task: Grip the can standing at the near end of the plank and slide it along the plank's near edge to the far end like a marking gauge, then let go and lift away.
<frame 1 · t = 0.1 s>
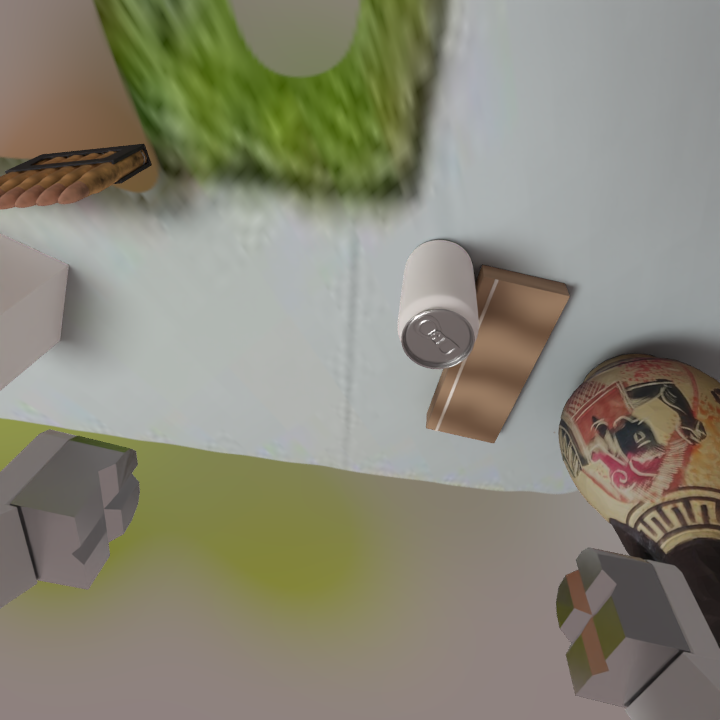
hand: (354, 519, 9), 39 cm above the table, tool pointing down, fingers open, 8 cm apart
can: (438, 268, 48), on the table
plank: (487, 356, 53), on the table
ceramic jug: (615, 387, 54), on the table
milk: (11, 280, 56), on the table
ammunition clip: (96, 159, 46), on the table
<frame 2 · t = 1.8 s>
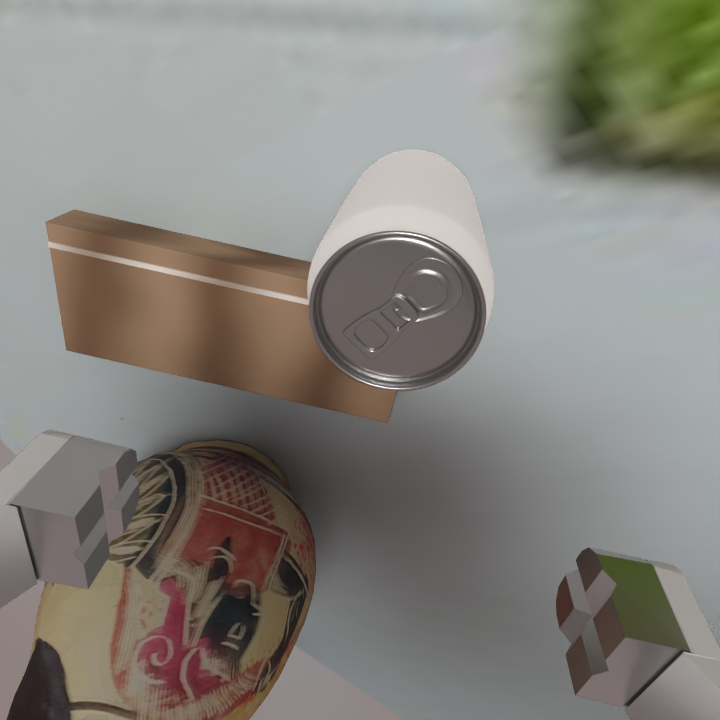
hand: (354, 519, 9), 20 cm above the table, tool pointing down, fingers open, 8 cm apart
can: (411, 213, 26), on the table
plank: (243, 310, 30), on the table
ceramic jug: (228, 473, 38), on the table
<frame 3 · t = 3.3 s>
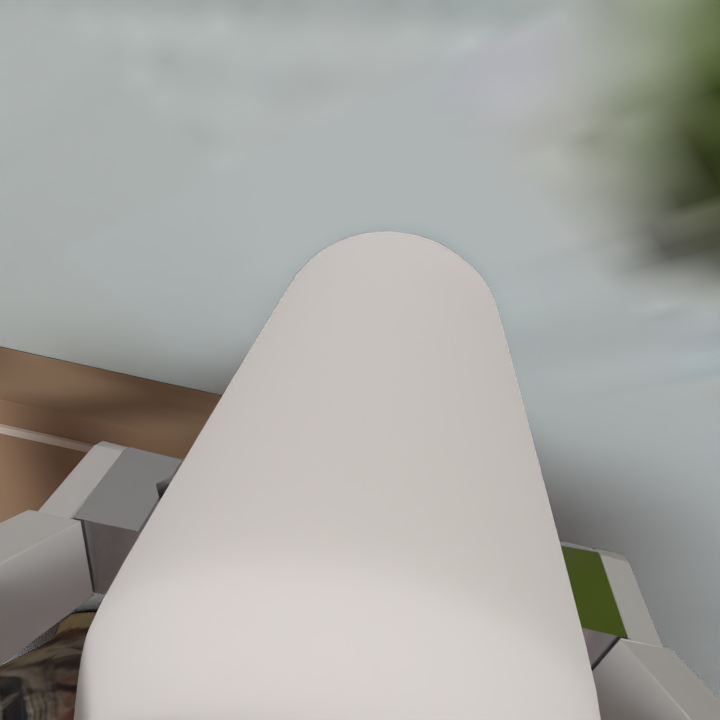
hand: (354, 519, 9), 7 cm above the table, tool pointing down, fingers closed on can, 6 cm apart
can: (388, 328, 15), on the table, touching gripper
plank: (130, 458, 19), on the table
ceramic jug: (141, 644, 27), on the table
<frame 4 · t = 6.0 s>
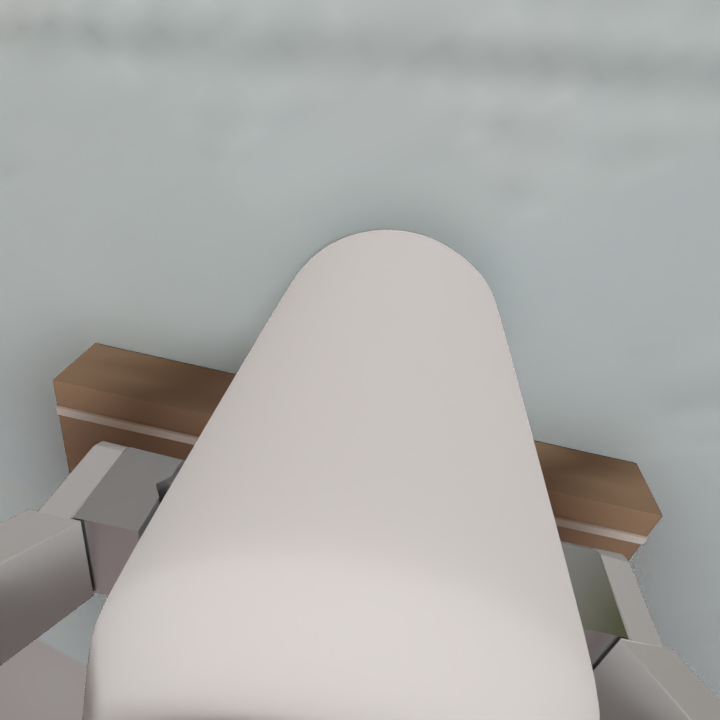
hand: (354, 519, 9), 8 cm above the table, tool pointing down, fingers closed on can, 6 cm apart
can: (389, 326, 15), point 1 cm above the table, touching gripper
plank: (346, 480, 20), on the table
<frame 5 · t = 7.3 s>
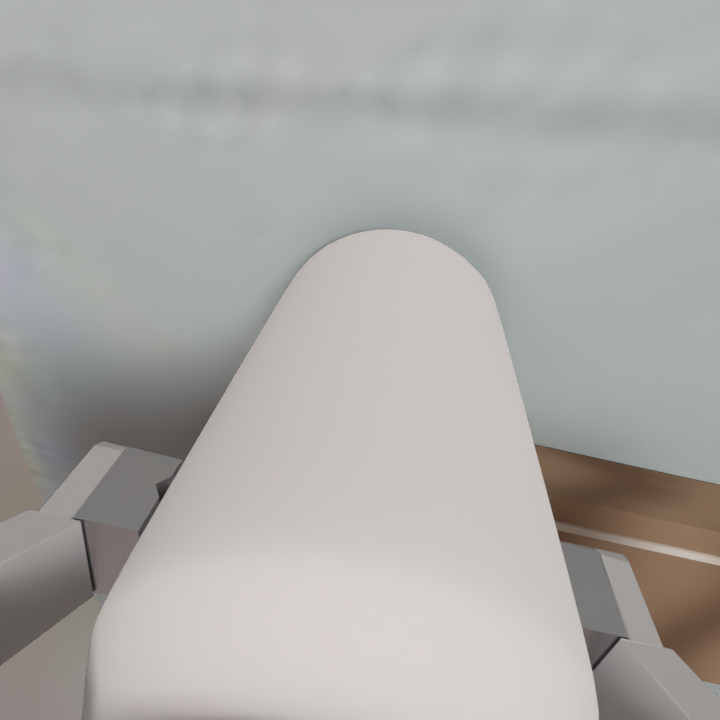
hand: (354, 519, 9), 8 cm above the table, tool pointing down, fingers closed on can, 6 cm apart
can: (388, 325, 15), point 1 cm above the table, touching gripper
plank: (535, 526, 20), on the table
when the fingers open (7 cm above the table, at t = 8.6 s): can stays where it is, on the table.
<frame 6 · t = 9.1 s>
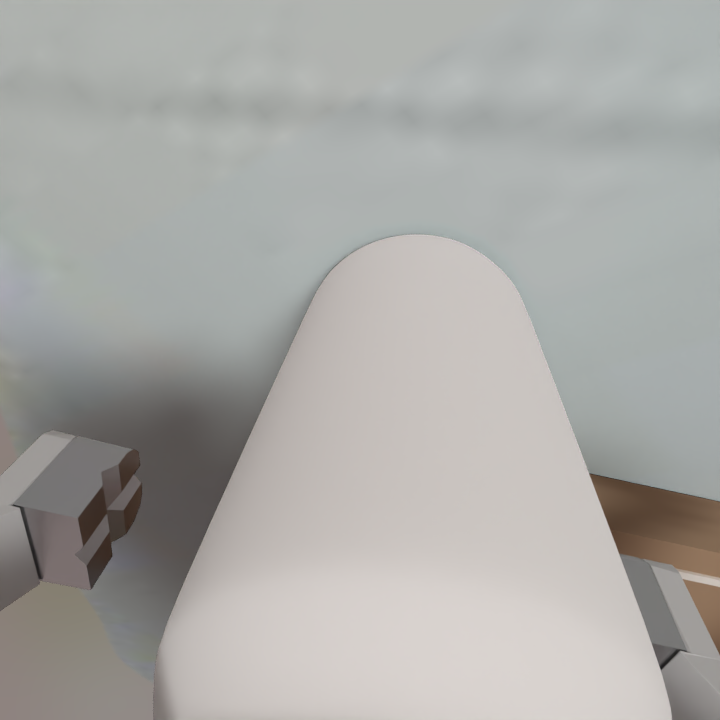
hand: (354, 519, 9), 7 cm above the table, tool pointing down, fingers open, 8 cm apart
can: (414, 330, 15), on the table, touching gripper
plank: (555, 548, 19), on the table
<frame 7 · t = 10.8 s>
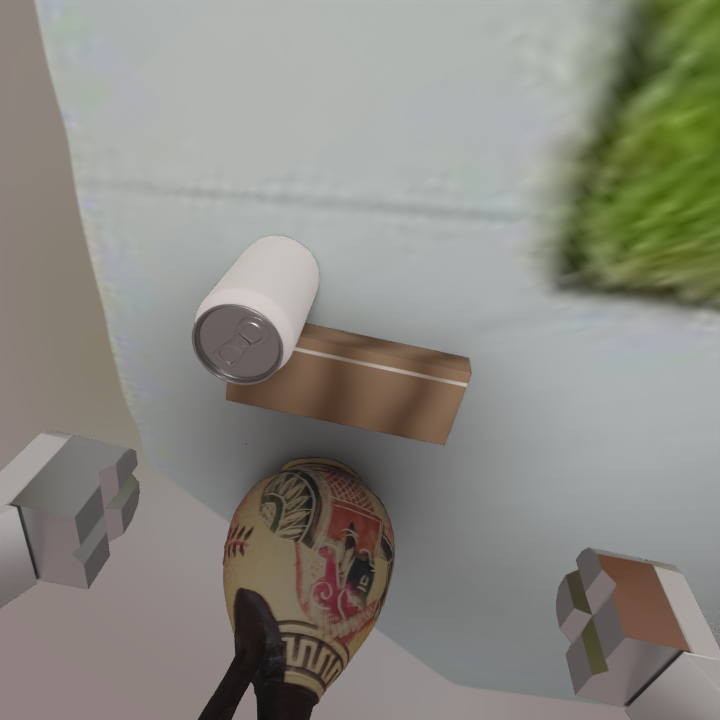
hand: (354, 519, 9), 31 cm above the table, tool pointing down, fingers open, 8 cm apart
can: (281, 272, 41), on the table
plank: (346, 372, 45), on the table
ceramic jug: (319, 480, 53), on the table
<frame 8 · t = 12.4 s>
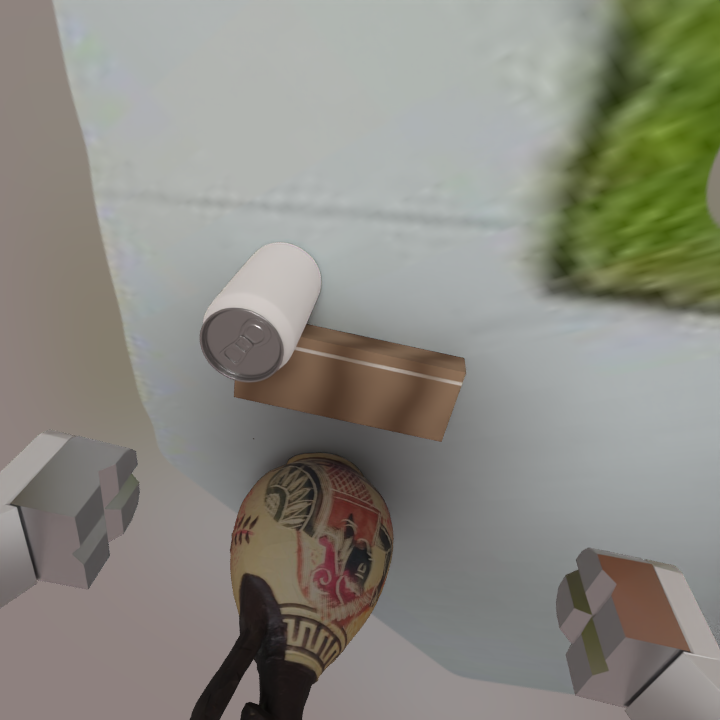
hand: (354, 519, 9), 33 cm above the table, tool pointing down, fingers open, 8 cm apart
can: (285, 276, 43), on the table
plank: (348, 371, 47), on the table
ceramic jug: (323, 475, 55), on the table
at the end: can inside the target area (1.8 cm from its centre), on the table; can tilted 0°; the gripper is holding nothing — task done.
